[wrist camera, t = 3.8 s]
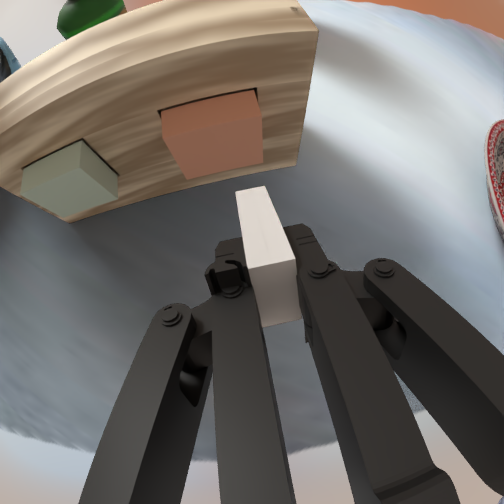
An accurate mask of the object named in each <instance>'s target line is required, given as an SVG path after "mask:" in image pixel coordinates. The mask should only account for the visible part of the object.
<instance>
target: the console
mask: <svg viewBox="0 0 504 504" xmlns="http://www.w3.org/2000/svg"><path fill="white" fill-rule="evenodd" d="M318 33H319V30H318V29H317V27H316V26H315V24H314V23H313V22H312V20H311V19H310V17H309V16H308V15H307V13H306V12H305V11H304V9H303V8H302V7H301V5H300V4H299V3H298V1H297V0H163V1H160V2H157V3H154V4H150V5H148V6H144V7H141V8H138V9H136V10H133V11H130V12H127V13H125V14H122V15H119V16H117V17H114V18H112V19H110V20H107V21H105V22H102V23H100V24H98V25H96V26H94V27H91V28H89V29H87V30H85V31H83V32H81V33H79V34H77V35H75V36H73V37H71V38H69V39H67V40H66V41H64V42H62V43H60V44H58V45H56V46H55V47H53V48H51V49H50V50H48V51H46V52H45V53H43V54H41V55H40V56H39V57H37V58H35V59H33V60H32V61H30V62H29V63H27V64H26V65H24V66H23V67H21V68H20V69H19V70H17V71H16V72H14V73H13V74H12V75H10V76H9V77H7V78H6V79H5V80H3V81H2V82H1V83H0V187H2V188H4V189H5V190H7V191H9V192H11V193H13V194H14V195H16V196H18V197H20V198H22V199H24V200H25V201H27V202H29V203H31V204H33V205H35V206H37V207H39V208H40V209H42V210H44V211H46V212H48V213H50V214H52V215H54V216H56V217H58V218H60V219H62V220H64V221H66V222H68V223H72V222H75V221H78V220H81V219H84V218H87V217H90V216H93V215H96V214H99V213H102V212H106V211H109V210H112V209H115V208H119V207H122V206H125V205H129V204H132V203H136V202H139V201H142V200H146V199H150V198H153V197H157V196H161V195H164V194H168V193H172V192H176V191H180V190H184V189H188V188H192V187H196V186H200V185H204V184H208V183H212V182H217V181H221V180H226V179H230V178H235V177H239V176H244V175H249V174H254V173H259V172H264V171H269V170H274V169H280V168H285V167H291V166H296V162H297V157H298V152H299V146H300V141H301V135H302V130H303V124H304V119H305V113H306V107H307V101H308V96H309V90H310V84H311V78H312V72H313V65H314V59H315V53H316V46H317V40H318ZM250 90H254V92H255V95H256V98H257V102H258V105H259V108H260V111H261V115H262V137H263V163H260V164H255V165H250V166H245V167H240V168H235V169H231V170H226V171H222V172H217V173H213V174H209V175H205V176H200V177H196V178H192V179H188V180H187V179H186V178H185V176H184V174H183V173H182V171H181V169H180V167H179V166H178V164H177V162H176V161H175V159H174V157H173V155H172V154H171V152H170V150H169V149H168V147H167V145H166V143H165V142H164V140H163V137H162V121H161V111H164V110H168V109H171V108H175V107H178V106H182V105H186V104H190V103H194V102H198V101H202V100H206V99H210V98H215V97H219V96H224V95H229V94H234V93H239V92H245V91H250ZM81 140H82V141H83V142H84V143H85V144H86V145H87V146H88V147H89V148H90V149H91V150H92V151H93V152H94V153H95V154H96V155H97V156H98V157H99V158H100V159H101V160H102V161H103V162H104V163H105V164H106V165H107V166H108V167H109V168H110V169H111V170H112V171H113V172H114V173H115V174H116V175H117V176H118V199H117V200H114V201H111V202H108V203H105V204H102V205H98V206H95V207H92V208H90V209H87V210H84V211H81V212H78V213H75V214H72V215H69V216H67V217H64V218H63V217H61V216H59V215H57V214H55V213H53V212H51V211H49V210H47V209H46V208H44V207H42V206H40V205H38V204H36V203H34V202H33V201H31V200H29V199H27V198H25V197H23V196H22V195H20V191H21V183H22V176H23V170H24V168H26V167H28V166H30V165H32V164H34V163H35V162H37V161H39V160H41V159H43V158H45V157H47V156H49V155H51V154H53V153H55V152H57V151H59V150H61V149H64V148H66V147H68V146H70V145H72V144H75V143H77V142H79V141H81Z"/></svg>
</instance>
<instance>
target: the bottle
mask: <svg viewBox="0 0 504 504" xmlns="http://www.w3.org/2000/svg"><path fill="white" fill-rule="evenodd" d="M125 13H127V11H126V8H125V5H124V2H123V0H68V1H67V2H66V3H65V4H64V6H63V8H62V9H61V11H60V13H59V16H58V23H57V29H58V30H59V32H60V33H61V34H62V36H63V37H64V38H65V39H66V40H67V39H69V38H71V37H73V36H75V35H77V34H79V33H81V32H83V31H85V30H87V29H89V28H91V27H94V26H96V25H98V24H100V23H102V22H105V21H107V20H110V19H112V18H114V17H117V16H119V15H122V14H125Z"/></svg>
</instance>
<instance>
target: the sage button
mask: <svg viewBox="0 0 504 504" xmlns="http://www.w3.org/2000/svg"><path fill="white" fill-rule="evenodd" d="M20 195H22V196H23V197H25V198H27V199H29V200H31V201H33V202H34V203H36V204H38V205H40V206H42V207H44V208H46V209H47V210H49V211H51V212H53V213H55V214H57V215H59V216H61V217H63V218H64V217H67V216H69V215H72V214H75V213H78V212H81V211H84V210H87V209H90V208H92V207H95V206H98V205H102V204H105V203H108V202H111V201H114V200H117V199H118V176H117V175H116V174H115V173H114V172H113V171H112V170H111V169H110V168H109V167H108V166H107V165H106V164H105V163H104V162H103V161H102V160H101V159H100V158H99V157H98V156H97V155H96V154H95V153H94V152H93V151H92V150H91V149H90V148H89V147H88V146H87V145H86V144H85V143H84V142H83V141H82V140H81V141H79V142H77V143H75V144H72V145H70V146H68V147H66V148H64V149H61V150H59V151H57V152H55V153H53V154H51V155H49V156H47V157H45V158H43V159H41V160H39V161H37V162H35V163H34V164H32V165H30V166H28V167H26V168H24V170H23V176H22V183H21V191H20Z"/></svg>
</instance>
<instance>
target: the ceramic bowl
mask: <svg viewBox="0 0 504 504" xmlns="http://www.w3.org/2000/svg"><path fill="white" fill-rule="evenodd" d="M484 152H485V166H486V173H487V190H488V196H489V202H490V206H491V210H492V214H493V217H494V220H495V223H496V225H497V228H498V231H499V233H500V235H501V237H502V239H503V241H504V119H503V120H499V121H496V122H495V123H493V124H492V125H491V127H490V128H489V130H488V132H487V135H486V140H485V149H484Z"/></svg>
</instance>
